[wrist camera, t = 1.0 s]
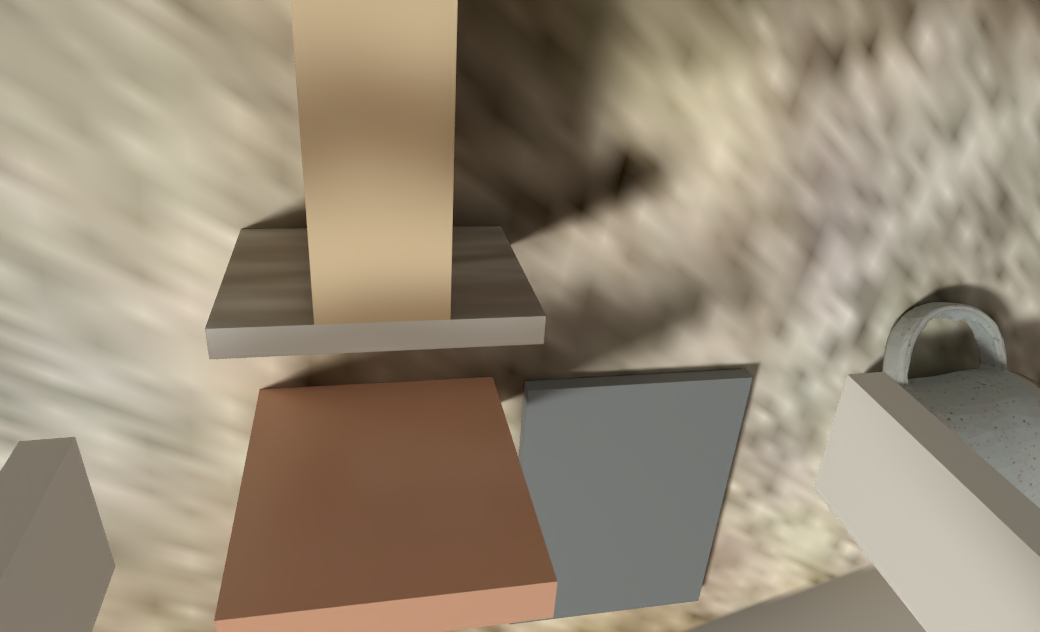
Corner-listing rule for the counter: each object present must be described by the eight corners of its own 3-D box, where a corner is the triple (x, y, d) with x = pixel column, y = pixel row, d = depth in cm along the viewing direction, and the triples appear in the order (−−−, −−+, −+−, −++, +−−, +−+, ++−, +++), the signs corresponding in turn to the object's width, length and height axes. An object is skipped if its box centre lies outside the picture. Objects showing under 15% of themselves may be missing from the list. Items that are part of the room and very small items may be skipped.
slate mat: (524, 381, 34) (528, 390, 33) (744, 368, 36) (752, 377, 35) (506, 612, 40) (509, 624, 40) (692, 589, 43) (698, 600, 42)
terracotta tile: (259, 389, 31) (214, 621, 21) (492, 376, 33) (557, 581, 23) (263, 421, 32) (221, 660, 21) (490, 407, 34) (553, 618, 23)
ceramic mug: (959, 448, 42) (1076, 544, 35) (827, 477, 41) (922, 582, 34) (999, 279, 37) (1144, 354, 30) (850, 307, 36) (966, 391, 29)
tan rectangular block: (198, -143, 22) (129, -174, 15) (518, -115, 24) (585, -132, 17) (243, 253, 28) (209, 359, 21) (499, 248, 30) (543, 343, 23)
